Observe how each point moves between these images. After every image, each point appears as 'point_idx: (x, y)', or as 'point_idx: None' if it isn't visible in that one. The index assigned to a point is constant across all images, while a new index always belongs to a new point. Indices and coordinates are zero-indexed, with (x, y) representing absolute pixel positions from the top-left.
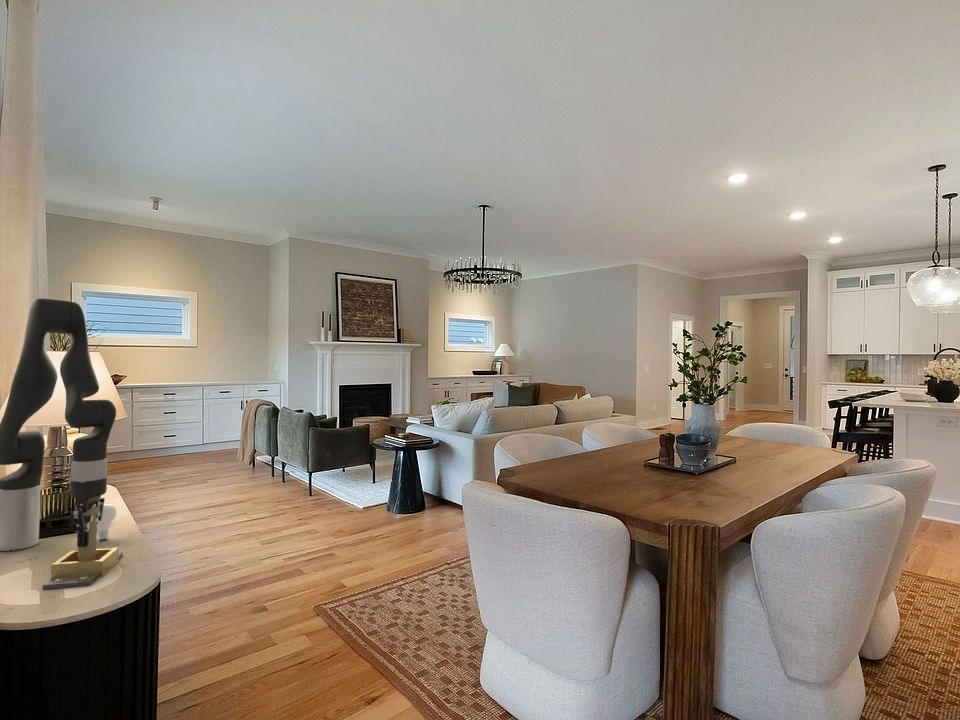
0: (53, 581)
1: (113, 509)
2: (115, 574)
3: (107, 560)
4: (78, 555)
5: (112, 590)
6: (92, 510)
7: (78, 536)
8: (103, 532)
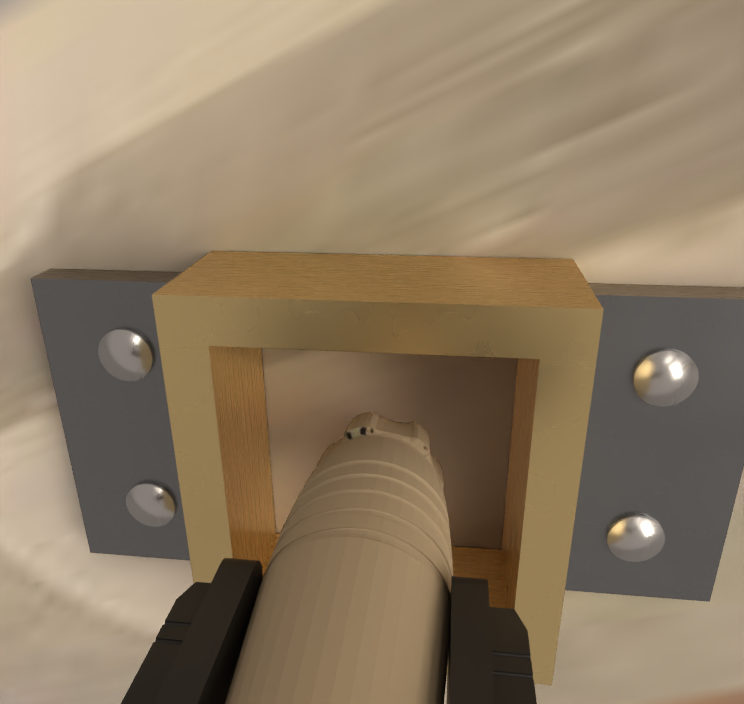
0: (100, 324)
1: None
2: None
3: None
4: (316, 474)
5: (32, 652)
6: None
7: (134, 683)
8: None
